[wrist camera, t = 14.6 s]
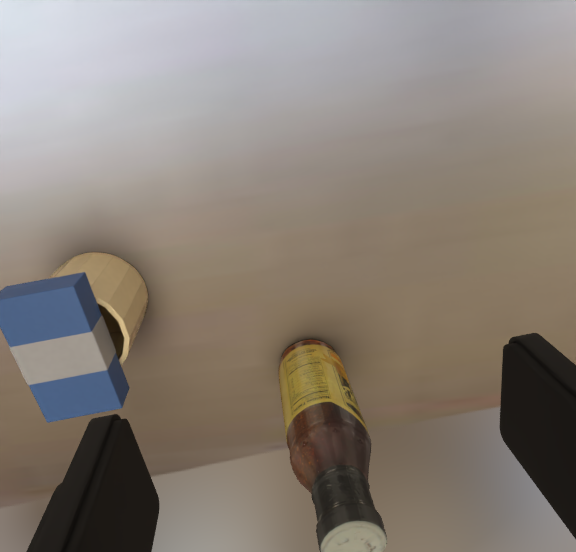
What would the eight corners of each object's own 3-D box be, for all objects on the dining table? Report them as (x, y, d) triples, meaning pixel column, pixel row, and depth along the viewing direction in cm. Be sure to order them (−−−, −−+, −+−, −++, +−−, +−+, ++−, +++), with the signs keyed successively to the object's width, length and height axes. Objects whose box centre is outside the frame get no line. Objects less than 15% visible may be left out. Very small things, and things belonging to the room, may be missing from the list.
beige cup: (38, 261, 38) (-7, 301, 31) (132, 244, 38) (108, 279, 31) (72, 341, 41) (38, 393, 34) (158, 324, 41) (142, 373, 34)
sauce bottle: (338, 385, 46) (402, 584, 28) (277, 389, 45) (302, 595, 27) (340, 330, 43) (413, 509, 25) (276, 334, 43) (302, 520, 24)
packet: (4, 286, 30) (-15, 302, 28) (86, 271, 31) (74, 286, 28) (58, 401, 34) (46, 423, 32) (130, 387, 35) (122, 408, 32)
